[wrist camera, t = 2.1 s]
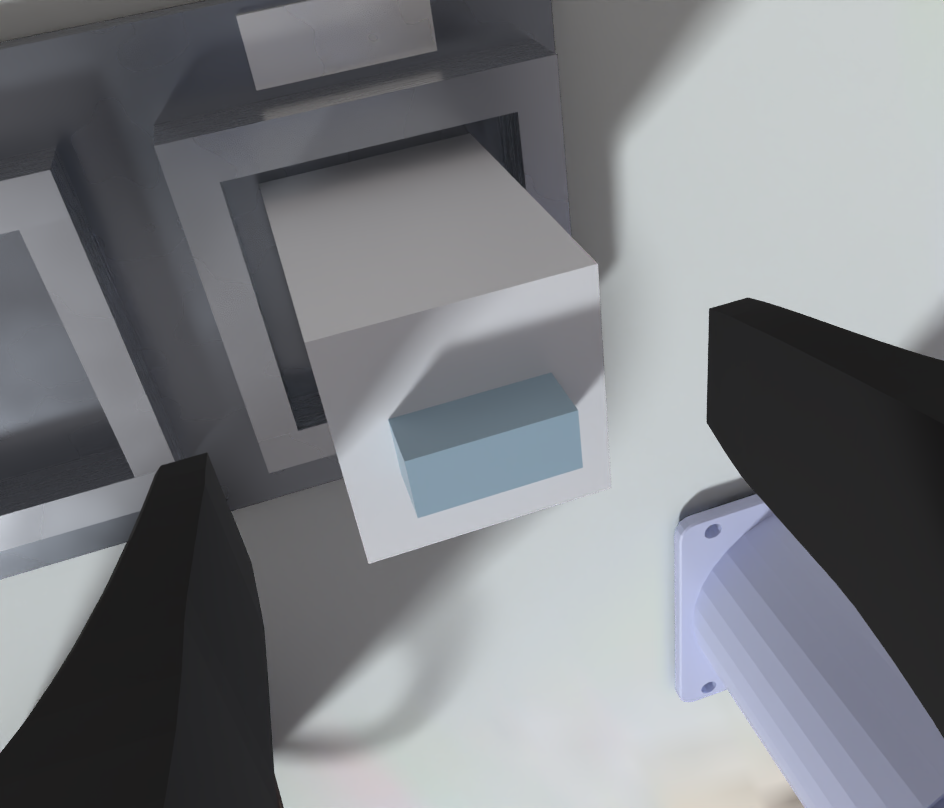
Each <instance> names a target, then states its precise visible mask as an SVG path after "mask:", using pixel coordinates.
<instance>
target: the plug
mask: <svg viewBox="0 0 944 808" xmlns="http://www.w3.org/2000/svg"><path fill="white" fill-rule="evenodd" d="M259 187H260V190H261V194H262V197H263V201H264V204H265V208H266V211H267V215H268V218H269V222H270V225H271V229H272V232H273V235H274V239H275V242H276V246H277V249H278V253H279V256H280V260H281V263H282V267H283V270H284V274H285V277H286V281H287V284H288V287H289V291H290V294H291V298H292V301H293V305H294V308H295V312H296V315H297V319H298V322H299V326H300V329H301V333H302V336H303V339H304V343H305V346H306V350H307V353H308V357H309V360H310V364H311V367H312V371H313V374H314V377H315V381H316V384H317V388H318V391H319V395H320V398H321V402H322V405H323V409H324V412H325V415H326V419H327V422H328V426H329V429H330V433H331V436H332V440H333V443H334V447H335V450H336V453H337V457H338V460H339V464H340V467H341V471H342V474H343V478H344V481H345V485H346V488H347V491H348V495H349V498H350V502H351V505H352V509H353V512H354V516H355V519H356V522H357V526H358V529H359V533H360V536H361V540H362V543H363V547H364V550H365V554H366V557H367V560H368V564H370V563H374V562H377V561H380V560H383V559H386V558H390V557H393V556H396V555H399V554H402V553H405V552H409V551H412V550H415V549H418V548H421V547H425V546H428V545H431V544H434V543H437V542H441V541H444V540H447V539H450V538H453V537H457V536H460V535H463V534H466V533H469V532H473V531H476V530H479V529H482V528H485V527H489V526H492V525H495V524H498V523H501V522H505V521H508V520H511V519H514V518H517V517H521V516H524V515H527V514H530V513H533V512H537V511H540V510H543V509H546V508H549V507H552V506H556V505H559V504H562V503H565V502H568V501H572V500H575V499H578V498H581V497H584V496H588V495H591V494H594V493H597V492H600V491H604V490H607V489H610V488H611V472H610V456H609V439H608V423H607V406H606V389H605V373H604V356H603V340H602V323H601V306H600V290H599V273H598V263H597V262H596V261H595V260H594V259H593V258H592V257H591V256H590V255H589V254H588V253H587V252H586V251H585V250H584V249H583V248H582V247H581V246H580V245H579V244H578V243H577V242H576V241H575V240H574V239H573V238H572V237H571V236H570V235H569V234H568V233H567V232H566V231H565V230H564V229H563V228H562V227H561V226H560V225H559V223H558V222H557V221H556V220H555V219H554V218H553V217H552V216H551V215H550V214H549V213H548V212H547V211H546V210H545V209H544V208H543V207H542V206H541V205H540V204H539V203H538V202H537V201H536V200H535V199H534V198H533V197H532V196H531V195H530V194H529V193H528V192H527V191H526V190H525V189H524V188H523V187H522V186H521V185H520V184H519V183H518V182H517V181H516V180H515V179H514V178H513V177H512V176H511V175H510V174H509V173H508V172H507V171H506V169H505V168H504V167H503V166H502V165H501V164H500V163H499V162H498V161H497V160H496V159H495V158H494V157H493V156H492V155H491V154H490V153H489V152H488V151H487V150H486V149H485V148H484V147H483V146H482V145H481V144H480V143H479V142H478V141H477V140H476V139H475V138H474V137H473V136H472V135H471V134H470V133H469V134H465V135H461V136H456V137H452V138H448V139H444V140H440V141H435V142H431V143H427V144H423V145H419V146H415V147H410V148H406V149H402V150H398V151H394V152H389V153H385V154H381V155H377V156H373V157H369V158H364V159H360V160H356V161H352V162H348V163H343V164H339V165H335V166H331V167H327V168H323V169H318V170H314V171H310V172H306V173H302V174H297V175H293V176H289V177H285V178H281V179H276V180H272V181H268V182H264V183H260V184H259Z"/></svg>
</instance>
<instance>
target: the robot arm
mask: <svg viewBox="0 0 944 808" xmlns="http://www.w3.org/2000/svg"><path fill="white" fill-rule="evenodd" d="M707 424H708V425H709V427H710V429H711V430H712V432H713V433H714V435H715V437H716V438H717V440H718V441H719V443H720V445H721V446H722V448H723V449H724V451H725V453H726V454H727V456H728V457H729V459H730V460H731V461H732V463H733V464H734V466H735V467H736V469H737V470H738V472H739V473H740V475H741V476H742V477H743V478H744V480H745V481H746V482H747V483H748V484H749V486H750V487H751V488H752V489H753V490H754V491H755V493H756V494H755V495H752V496H749V497H746V498H743V499H739V500H736V501H733V502H730V503H727V504H724V505H721V506H718V507H715V508H712V509H709V510H705V511H702V512H699V513H696V514H693V515H690V516H688V517H686V518H684V519H683V520H682V521H680V522H679V524H678V525H677V527H676V529H675V533H674V548H675V690H676V692H677V694H678V696H679V697H680V699H681V700H682V701H684V702H693V701H696V700H699V699H702V698H704V697H707V696H710V695H713V694H716V693H718V692H721V691H724V690H728V691H729V693H730V694H731V696H732V697H733V699H734V700H735V702H736V704H737V705H738V707H739V708H740V710H741V711H742V713H743V714H744V716H745V717H746V719H747V720H748V722H749V723H750V725H751V726H752V728H753V730H754V731H755V733H756V734H757V736H758V737H759V739H760V740H761V742H762V743H763V745H764V746H765V748H766V749H767V751H768V752H769V754H770V755H771V757H772V759H773V760H774V762H775V763H776V765H777V766H778V768H779V769H780V771H781V772H782V774H783V775H784V777H785V778H786V780H787V781H788V783H789V785H790V786H791V788H792V789H793V791H794V792H795V794H796V795H797V797H798V798H799V800H800V801H801V803H802V804H803V806H804V807H805V808H944V361H942V360H938V359H935V358H931V357H928V356H924V355H921V354H918V353H915V352H912V351H908V350H905V349H902V348H899V347H896V346H893V345H890V344H887V343H884V342H881V341H878V340H875V339H872V338H869V337H866V336H863V335H860V334H857V333H854V332H851V331H849V330H846V329H843V328H840V327H837V326H834V325H831V324H829V323H826V322H823V321H820V320H817V319H814V318H811V317H809V316H806V315H803V314H800V313H797V312H794V311H791V310H788V309H785V308H782V307H779V306H776V305H773V304H770V303H766V302H763V301H759V300H755V299H751V298H745V299H741V300H738V301H734V302H731V303H727V304H724V305H720V306H717V307H713V308H710V309H709V342H708V384H707ZM709 526H710V527H709ZM708 527H709V528H708ZM0 808H278V805H277V796H276V787H275V778H274V763H273V748H272V733H271V718H270V703H269V688H268V673H267V659H266V645H265V633H264V625H263V619H262V614H261V609H260V603H259V598H258V593H257V588H256V583H255V578H254V573H253V569H252V564H251V561H250V558H249V556H248V553H247V551H246V548H245V546H244V543H243V541H242V538H241V536H240V533H239V531H238V528H237V526H236V523H235V520H234V518H233V515H232V513H231V510H230V508H229V505H228V503H227V500H226V498H225V495H224V493H223V490H222V488H221V485H220V483H219V480H218V478H217V475H216V473H215V470H214V468H213V465H212V463H211V460H210V458H209V455H208V453H207V452H206V453H203V454H199V455H196V456H192V457H189V458H185V459H182V460H178V461H175V462H171V463H168V464H164V465H161V466H160V467H159V469H158V470H157V472H156V474H155V475H154V478H153V481H152V483H151V486H150V488H149V491H148V493H147V496H146V498H145V501H144V503H143V506H142V508H141V511H140V513H139V516H138V518H137V520H136V523H135V525H134V527H133V530H132V532H131V534H130V537H129V539H128V541H127V544H126V546H125V548H124V550H123V552H122V554H121V556H120V558H119V560H118V563H117V565H116V567H115V569H114V571H113V573H112V575H111V577H110V580H109V582H108V584H107V586H106V588H105V590H104V592H103V594H102V596H101V597H100V599H99V601H98V603H97V605H96V607H95V608H94V610H93V612H92V614H91V616H90V618H89V619H88V621H87V623H86V625H85V627H84V629H83V630H82V632H81V634H80V636H79V638H78V640H77V641H76V643H75V645H74V647H73V648H72V650H71V652H70V653H69V655H68V656H67V658H66V660H65V661H64V663H63V665H62V666H61V668H60V670H59V671H58V673H57V674H56V676H55V677H54V679H53V681H52V682H51V684H50V685H49V687H48V688H47V690H46V691H45V693H44V694H43V696H42V697H41V699H40V700H39V702H38V703H37V705H36V706H35V708H34V709H33V711H32V712H31V713H30V715H29V716H28V718H27V719H26V721H25V722H24V723H23V725H22V726H21V727H20V729H19V730H18V731H17V732H16V734H15V735H14V736H13V738H12V739H11V740H10V741H9V743H8V744H7V745H6V747H5V748H4V749H3V750H2V752H1V753H0Z"/></svg>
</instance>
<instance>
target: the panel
mask: <svg viewBox="0 0 944 808" xmlns="http://www.w3.org/2000/svg"><path fill="white" fill-rule="evenodd" d="M469 133H470V134H471V135H472V136H473V137H474V138H475V139H476V140H477V141H478V142H479V143H480V144H481V145H482V146H483V147H484V148H485V149H486V150H487V151H488V152H489V153H490V154H491V155H492V156H493V157H494V158H495V159H496V160H497V161H498V162H499V163H500V164H501V165H502V166H503V167H504V168H505V169H506V171H507V172H508V173H509V174H510V175H511V176H512V177H513V178H514V179H515V180H516V181H517V182H518V183H519V184H520V185H521V186H522V187H523V188H524V189H525V190H526V191H527V192H528V193H529V194H530V195H531V196H532V197H533V198H534V199H535V200H536V201H537V202H538V203H539V204H540V205H541V206H542V207H543V208H544V209H545V210H546V211H547V212H548V213H549V214H550V215H551V216H552V217H553V218H554V219H555V220H556V221H557V222H558V223H559V225H560V226H561V227H562V228H563V229H564V230H565V231H566V232H567V233H568V234H569V235H570V236H571V224H570V211H569V199H568V186H567V173H566V160H565V147H564V134H563V122H562V109H561V96H560V83H559V70H558V57H557V54H556V53H555V43H554V30H553V17H552V5H551V0H205V1H200V2H195V3H190V4H185V5H180V6H176V7H171V8H166V9H161V10H156V11H151V12H146V13H141V14H136V15H132V16H127V17H122V18H117V19H112V20H107V21H102V22H97V23H92V24H88V25H83V26H78V27H73V28H68V29H63V30H58V31H53V32H48V33H44V34H39V35H34V36H29V37H24V38H19V39H14V40H9V41H4V42H0V579H3V578H7V577H10V576H14V575H17V574H20V573H24V572H27V571H31V570H34V569H37V568H41V567H44V566H47V565H51V564H54V563H58V562H61V561H64V560H68V559H71V558H74V557H78V556H81V555H85V554H88V553H91V552H95V551H98V550H101V549H105V548H108V547H112V546H115V545H118V544H122V543H125V542H127V541H128V539H129V537H130V534H131V532H132V530H133V527H134V525H135V523H136V520H137V518H138V516H139V513H140V511H141V508H142V506H143V503H144V501H145V498H146V496H147V493H148V491H149V488H150V486H151V483H152V481H153V478H154V475H155V474H156V472H157V470H158V469H159V467H160V466H161V465H164V464H168V463H171V462H175V461H178V460H182V459H185V458H189V457H192V456H196V455H199V454H203V453H206V452H207V453H208V455H209V458H210V460H211V463H212V465H213V468H214V470H215V473H216V475H217V478H218V480H219V483H220V485H221V488H222V490H223V493H224V495H225V498H226V500H227V503H228V505H229V508H230V510H231V511H233V510H237V509H240V508H243V507H247V506H250V505H254V504H257V503H260V502H264V501H267V500H270V499H274V498H277V497H281V496H284V495H287V494H291V493H294V492H297V491H301V490H304V489H308V488H311V487H314V486H318V485H321V484H324V483H328V482H331V481H335V480H338V479H341V478H343V474H342V471H341V467H340V464H339V460H338V457H337V453H336V450H335V447H334V443H333V440H332V436H331V433H330V429H329V426H328V422H327V419H326V415H325V412H324V409H323V405H322V402H321V398H320V395H319V391H318V388H317V384H316V381H315V377H314V374H313V371H312V367H311V364H310V360H309V357H308V353H307V350H306V346H305V343H304V339H303V336H302V333H301V329H300V326H299V322H298V319H297V315H296V312H295V308H294V305H293V301H292V298H291V294H290V291H289V287H288V284H287V281H286V277H285V274H284V270H283V267H282V263H281V260H280V256H279V253H278V249H277V246H276V242H275V239H274V235H273V232H272V229H271V225H270V222H269V218H268V215H267V211H266V208H265V204H264V201H263V197H262V194H261V190H260V187H259V184H260V183H264V182H268V181H272V180H276V179H281V178H285V177H289V176H293V175H297V174H302V173H306V172H310V171H314V170H318V169H323V168H327V167H331V166H335V165H339V164H343V163H348V162H352V161H356V160H360V159H364V158H369V157H373V156H377V155H381V154H385V153H389V152H394V151H398V150H402V149H406V148H410V147H415V146H419V145H423V144H427V143H431V142H435V141H440V140H444V139H448V138H452V137H456V136H461V135H465V134H469Z"/></svg>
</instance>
